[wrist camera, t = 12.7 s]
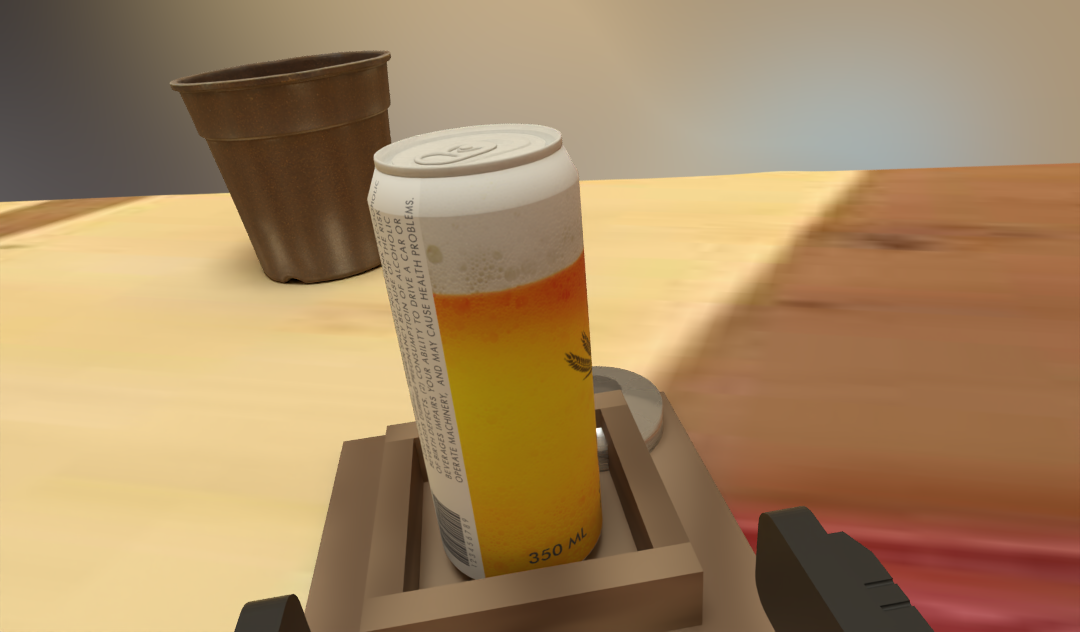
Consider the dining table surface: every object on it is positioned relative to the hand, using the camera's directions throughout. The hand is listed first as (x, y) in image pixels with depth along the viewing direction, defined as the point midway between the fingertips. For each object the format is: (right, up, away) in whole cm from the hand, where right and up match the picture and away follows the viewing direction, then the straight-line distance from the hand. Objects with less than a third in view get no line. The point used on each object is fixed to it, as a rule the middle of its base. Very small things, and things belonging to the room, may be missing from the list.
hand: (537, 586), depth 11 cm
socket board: (-1, -4, +14) cm, 15 cm away
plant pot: (-18, +10, +46) cm, 51 cm away
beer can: (-1, -4, +14) cm, 14 cm away
